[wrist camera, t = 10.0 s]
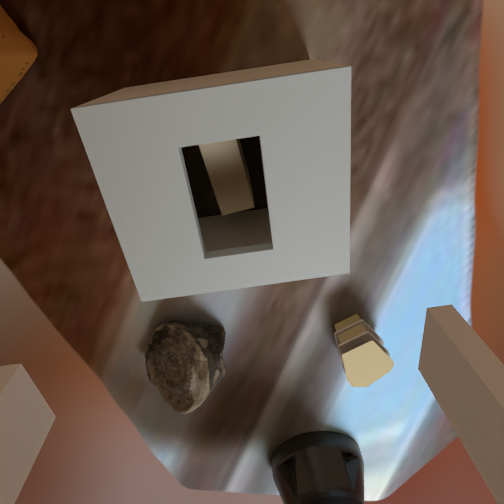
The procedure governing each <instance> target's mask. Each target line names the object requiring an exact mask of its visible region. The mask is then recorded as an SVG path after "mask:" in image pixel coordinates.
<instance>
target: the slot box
mask: <svg viewBox="0 0 504 504" xmlns="http://www.w3.org/2000/svg"><path fill="white" fill-rule="evenodd" d="M71 112H72V115H73V118H74V120H75V123H76V126H77V128H78V131H79V134H80V137H81V139H82V142H83V145H84V147H85V150H86V153H87V155H88V158H89V161H90V164H91V166H92V169H93V172H94V174H95V177H96V180H97V183H98V185H99V188H100V191H101V193H102V196H103V199H104V201H105V204H106V207H107V210H108V212H109V215H110V218H111V220H112V223H113V226H114V229H115V231H116V234H117V237H118V239H119V242H120V245H121V248H122V250H123V253H124V256H125V258H126V261H127V264H128V266H129V269H130V272H131V275H132V277H133V280H134V283H135V285H136V288H137V291H138V294H139V296H140V299H141V302H145V301H152V300H160V299H167V298H174V297H181V296H188V295H196V294H203V293H210V292H217V291H224V290H232V289H239V288H246V287H253V286H261V285H268V284H275V283H282V282H289V281H297V280H304V279H311V278H318V277H326V276H333V275H340V274H347V273H349V271H350V155H351V66H347V65H341V64H335V63H329V62H323V61H316V60H310V59H309V60H303V61H296V62H290V63H283V64H277V65H270V66H263V67H257V68H250V69H244V70H237V71H231V72H224V73H218V74H211V75H205V76H198V77H191V78H185V79H178V80H172V81H165V82H159V83H152V84H146V85H139V86H133V87H126V88H123V89H120V90H118V91H115V92H113V93H110V94H107V95H105V96H102V97H100V98H97V99H95V100H92V101H89V102H87V103H84V104H82V105H79V106H77V107H74V108H71ZM254 136H259V138H260V146H261V154H262V163H263V171H264V180H265V188H266V196H267V205H268V208H264V209H257V210H250V211H243V212H236V213H231V214H227V215H223V216H222V215H216V216H209V217H202V218H197V213H196V209H195V205H194V200H193V196H192V192H191V187H190V183H189V179H188V175H187V170H186V166H185V162H184V157H183V153H182V149H181V147H187V146H193V145H200V144H207V143H214V142H220V141H227V140H234V139H241V138H247V137H254Z"/></svg>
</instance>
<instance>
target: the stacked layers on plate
mask: <svg viewBox="0 0 504 504" xmlns="http://www.w3.org/2000/svg"><path fill="white" fill-rule="evenodd" d="M334 327H335V329H336V332H335V333H334V336H335V340H336V345H337V349H338V353H339V357H340V360H341V361H342V364H343V368H344V372H345V373H346V376H347V381H348V382H349V383H350V384H351V386H352V387H367V386H369V385H370V384H372V383H373V382H375V381H376V380H378V379H379V378H381V377H382V376H384V375H385V374H386V373H388V372H389V371H390V370H391V369H392V368H393V365H394V362H393V360H392V359H391V358H390V357H389V356H390V355H389V352H388V351H387V349H386V348H385V347H384V346H383V341H382V339H381V338H380V337H379V336H378V335H377V334H376V333H375V332H374V330H373V329H372V328H371V327H370V326H369V325H368V324H367V323H366V322H365V321H364V320H363V319H360V317H359V316H358V314H355V315H353V316H351V317H349V318H347V319H345V320H343V321H341V322H339V323H337V324H335V325H334Z"/></svg>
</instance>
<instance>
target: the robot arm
mask: <svg viewBox="0 0 504 504" xmlns="http://www.w3.org/2000/svg"><path fill="white" fill-rule="evenodd" d="M418 369H419V371H420V372H421V374H422V376H423V378H424V379H425V381H426V383H427V384H428V386H429V388H430V389H431V391H432V393H433V395H434V396H435V398H436V400H437V401H438V403H439V405H440V406H441V408H442V410H443V412H444V413H445V415H446V417H447V418H448V420H449V422H450V423H451V425H452V427H453V429H454V430H455V432H456V434H457V435H458V437H459V439H460V440H461V442H462V444H463V446H464V447H465V449H466V451H467V452H468V454H469V456H470V457H471V459H472V460H473V462H474V464H475V466H476V468H477V469H478V471H479V473H480V474H481V476H482V478H483V480H484V481H485V483H486V484H487V486H488V488H489V490H490V491H491V493H492V495H493V497H494V498H495V500H496V502H497V503H498V504H504V365H503V364H502V362H501V361H500V360H499V359H498V358H497V357H496V355H494V353H493V352H492V351H491V350H490V349H489V347H488V346H487V345H486V344H485V343H484V342H483V341H482V339H481V338H480V337H479V336H478V335H477V334H476V332H475V331H474V330H473V329H472V328H471V327H470V326H469V324H468V323H467V322H466V321H465V320H464V319H463V317H462V316H461V315H460V314H459V313H458V312H457V311H456V309H455V308H454V307H453V306H452V305H445V306H438V307H431V308H427V312H426V319H425V326H424V333H423V340H422V347H421V354H420V360H419V367H418ZM55 418H56V417H55V415H54V413H53V412H52V410H51V409H50V407H49V406H48V404H47V403H46V401H45V400H44V398H43V397H42V395H41V394H40V392H39V390H38V389H37V387H36V386H35V384H34V383H33V381H32V380H31V378H30V377H29V375H28V373H27V372H26V370H25V369H24V368H23V366H22V364H14V365H7V366H0V504H14V503H15V501H16V499H17V497H18V495H19V492H20V490H21V488H22V486H23V484H24V482H25V480H26V478H27V476H28V474H29V472H30V470H31V467H32V465H33V463H34V461H35V459H36V457H37V455H38V453H39V451H40V449H41V447H42V445H43V442H44V440H45V438H46V436H47V434H48V432H49V430H50V428H51V426H52V424H53V422H54V420H55ZM272 472H273V478H274V481H275V484H276V486H277V488H278V491H279V493H280V496H281V498H282V501H283V503H284V504H365V503H364V463H363V459H362V455H361V452H360V449H359V447H358V445H357V443H356V442H355V441H354V440H352V439H351V438H349V437H347V436H345V435H342V434H338V433H332V432H315V433H309V434H304V435H301V436H298V437H295V438H293V439H291V440H289V441H287V442H285V443H284V444H282V445H281V446H280V447H279V448H278V449H277V450H276V451H275V453H274V455H273V457H272Z"/></svg>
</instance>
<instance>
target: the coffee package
mask: <svg viewBox="0 0 504 504" xmlns="http://www.w3.org/2000/svg"><path fill="white" fill-rule="evenodd" d="M37 55H38V50H37V48H36V46H35V44H34V43H33V42H32V41H31V40H30V39H29V38H27V37H26V36H25V35H24V34H23V32H21V31H20V30H19V29H18V27H17V25H16V24H15V23H14V21H13V20H12V19H11V18H10V17H9V16H8V14H7V13H6V11H5V10H4V9H3V8H2V6H1V4H0V104H1V103H2V101H3V100H4V99H5V98H6V96H7V95H8V94H9V93H10V91H11V90H12V89H13V88H14V87H15V85H16V84H17V83H18V82H19V81H20V79H21V78H22V77H23V76H24V74H25V73H26V72H27V70H28V69H29V68H30V66H31V65H32V64H33V62H34V61H35V59H36V57H37Z"/></svg>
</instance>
